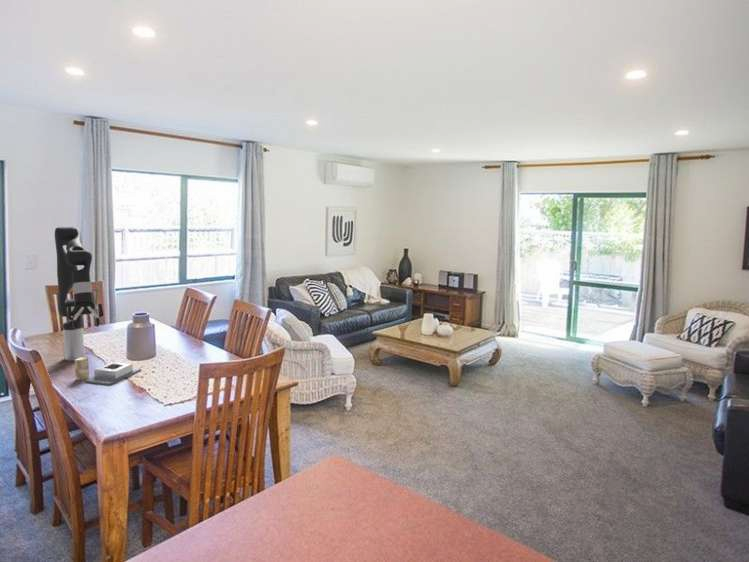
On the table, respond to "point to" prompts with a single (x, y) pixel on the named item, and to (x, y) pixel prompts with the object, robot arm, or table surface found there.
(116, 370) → the square peg board
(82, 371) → the wooden square peg
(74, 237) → the robot arm
